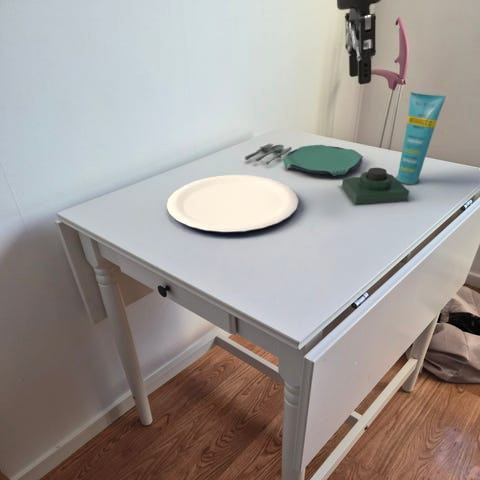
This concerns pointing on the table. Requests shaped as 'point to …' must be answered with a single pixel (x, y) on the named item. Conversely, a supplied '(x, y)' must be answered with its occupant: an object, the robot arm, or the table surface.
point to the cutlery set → (315, 158)
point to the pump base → (374, 189)
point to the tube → (418, 134)
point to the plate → (232, 203)
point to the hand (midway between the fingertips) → (359, 79)
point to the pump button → (376, 174)
